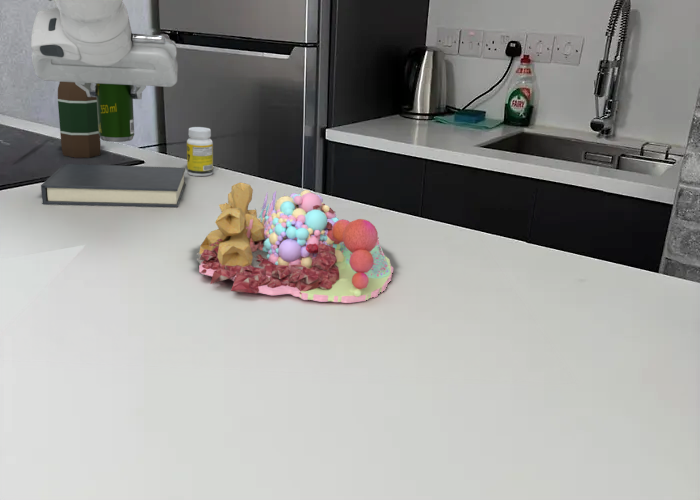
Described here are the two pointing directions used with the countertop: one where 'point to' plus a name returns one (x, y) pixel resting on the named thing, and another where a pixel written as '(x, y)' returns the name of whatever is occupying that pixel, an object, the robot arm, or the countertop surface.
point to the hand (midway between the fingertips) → (115, 94)
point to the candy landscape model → (294, 250)
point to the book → (114, 186)
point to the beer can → (115, 112)
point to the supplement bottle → (199, 152)
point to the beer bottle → (78, 122)
